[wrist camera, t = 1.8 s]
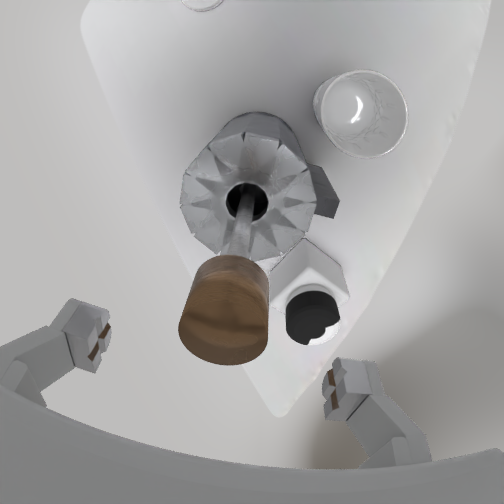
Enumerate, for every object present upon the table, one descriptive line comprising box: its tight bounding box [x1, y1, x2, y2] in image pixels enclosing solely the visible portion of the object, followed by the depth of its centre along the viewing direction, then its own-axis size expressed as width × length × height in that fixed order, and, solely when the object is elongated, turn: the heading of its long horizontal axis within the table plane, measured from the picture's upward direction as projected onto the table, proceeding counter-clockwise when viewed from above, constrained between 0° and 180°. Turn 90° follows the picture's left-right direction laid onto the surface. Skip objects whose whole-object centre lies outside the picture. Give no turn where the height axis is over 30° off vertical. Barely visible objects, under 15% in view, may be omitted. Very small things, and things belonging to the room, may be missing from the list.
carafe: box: [180, 112, 340, 262], centre depth 29 cm, size 10×12×16 cm
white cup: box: [313, 70, 408, 159], centre depth 28 cm, size 8×8×10 cm
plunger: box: [178, 182, 269, 365], centre depth 19 cm, size 7×7×18 cm
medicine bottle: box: [270, 239, 350, 345], centre depth 38 cm, size 7×7×12 cm
